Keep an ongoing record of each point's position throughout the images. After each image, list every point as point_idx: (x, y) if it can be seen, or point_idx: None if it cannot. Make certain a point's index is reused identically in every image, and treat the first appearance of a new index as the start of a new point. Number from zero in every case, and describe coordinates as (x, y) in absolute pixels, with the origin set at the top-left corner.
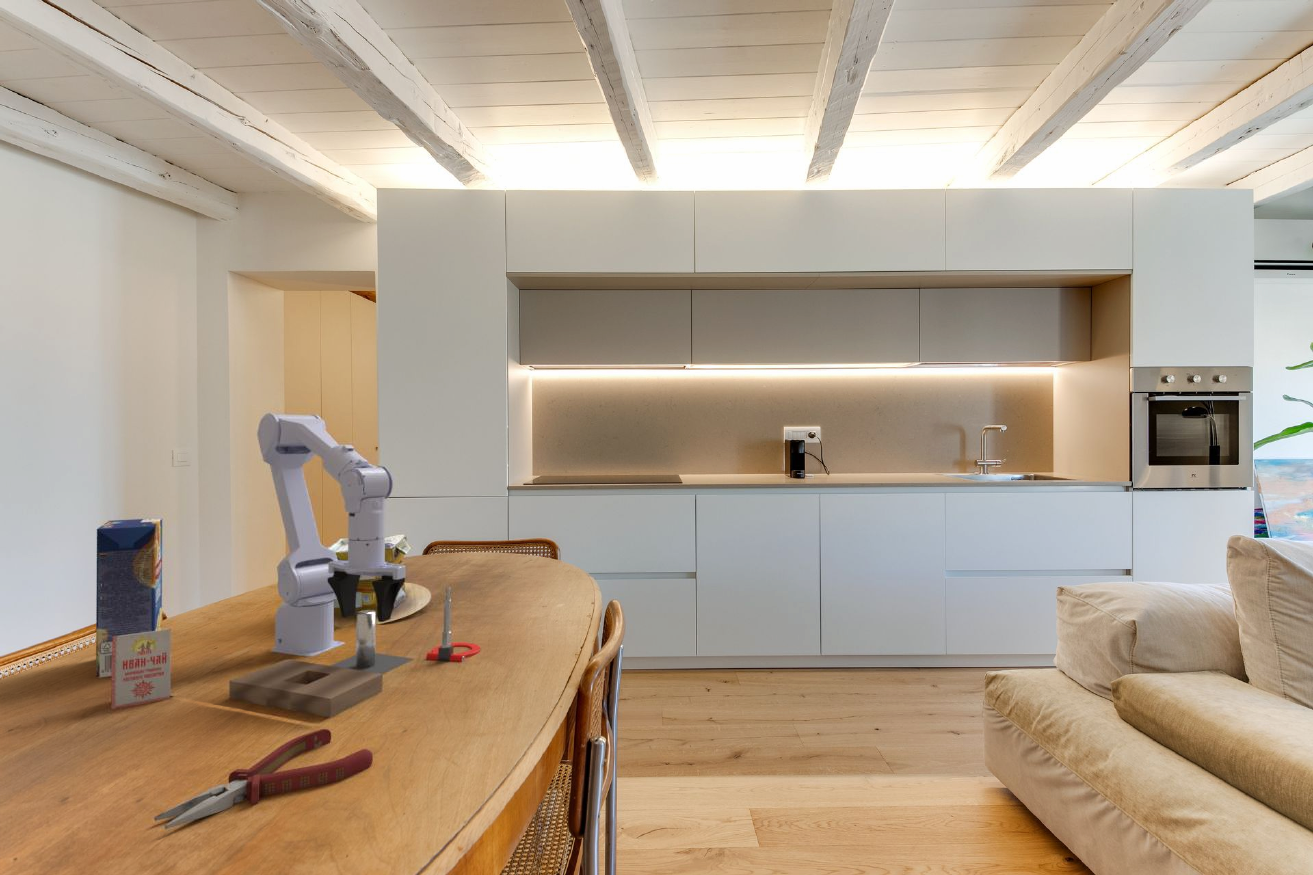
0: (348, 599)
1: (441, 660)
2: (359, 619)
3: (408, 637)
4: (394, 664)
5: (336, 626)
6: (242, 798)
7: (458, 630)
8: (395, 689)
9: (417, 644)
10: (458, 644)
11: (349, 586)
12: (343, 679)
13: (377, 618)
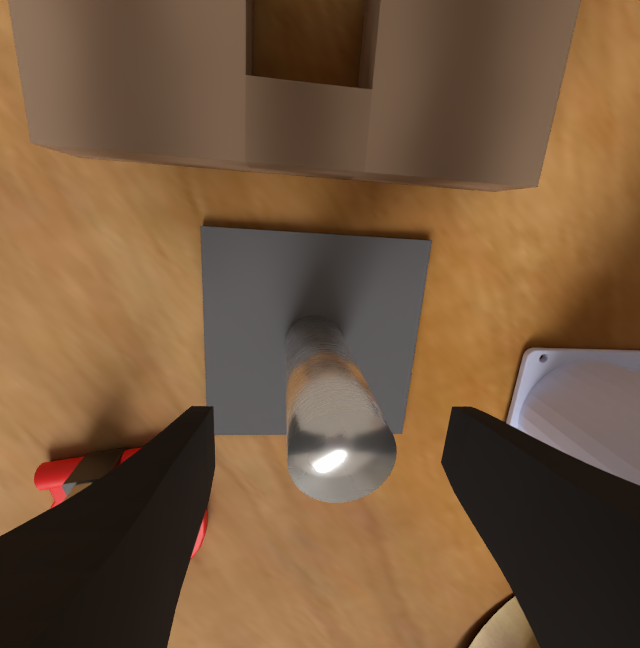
0: (510, 503)
1: (112, 450)
2: (341, 393)
3: (363, 564)
4: (230, 376)
5: None
6: None
7: (267, 644)
8: (68, 206)
9: (300, 533)
10: None
11: (589, 615)
12: (136, 23)
13: (527, 628)
